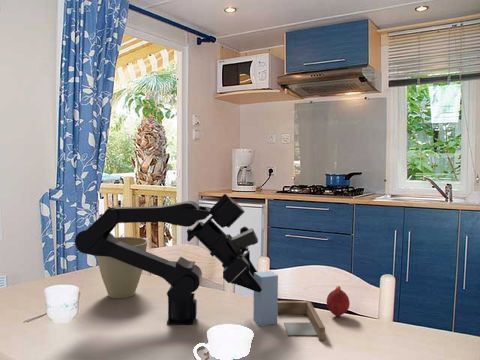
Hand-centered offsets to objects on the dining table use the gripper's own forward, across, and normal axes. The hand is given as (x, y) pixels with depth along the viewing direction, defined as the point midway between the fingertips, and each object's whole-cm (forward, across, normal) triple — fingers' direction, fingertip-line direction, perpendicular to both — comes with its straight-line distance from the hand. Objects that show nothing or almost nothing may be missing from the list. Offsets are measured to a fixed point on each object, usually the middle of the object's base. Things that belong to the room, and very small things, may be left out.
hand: (260, 285), depth 100 cm
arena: (+12, -3, +1) cm, 13 cm away
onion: (+21, +4, -8) cm, 23 cm away
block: (+7, 0, +6) cm, 9 cm away
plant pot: (-22, +18, +35) cm, 45 cm away
